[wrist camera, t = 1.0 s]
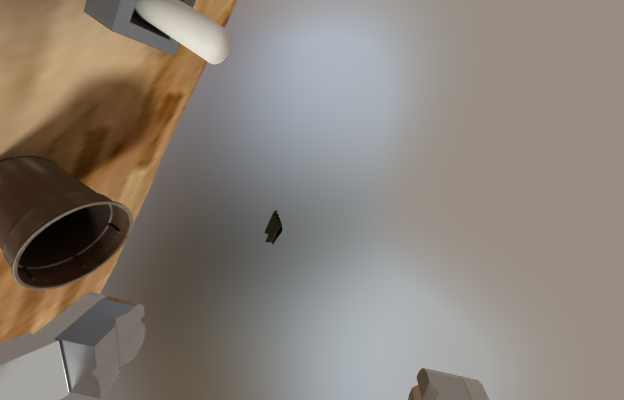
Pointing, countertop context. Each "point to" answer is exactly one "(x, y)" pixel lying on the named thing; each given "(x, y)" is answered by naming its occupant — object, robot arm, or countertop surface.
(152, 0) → the dowel pin
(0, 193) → the plant pot
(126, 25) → the pin cup
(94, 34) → the countertop surface
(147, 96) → the countertop surface
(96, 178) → the countertop surface
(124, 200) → the countertop surface
